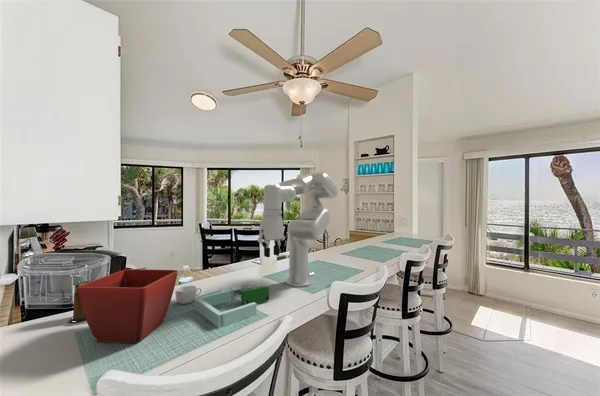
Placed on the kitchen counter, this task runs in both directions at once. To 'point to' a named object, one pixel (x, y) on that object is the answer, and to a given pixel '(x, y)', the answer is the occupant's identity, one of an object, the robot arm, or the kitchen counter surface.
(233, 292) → the clip
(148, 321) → the plant pot
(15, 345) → the kitchen counter surface
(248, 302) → the clamp
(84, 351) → the kitchen counter surface
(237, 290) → the cable
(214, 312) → the end holder
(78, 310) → the condiment
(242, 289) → the clip
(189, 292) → the teacup
